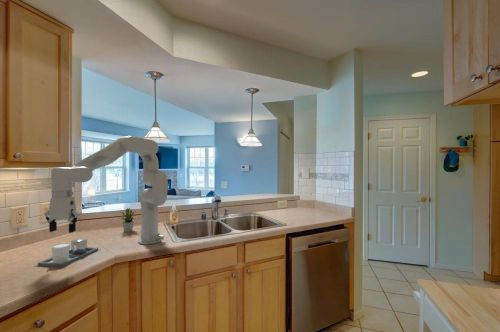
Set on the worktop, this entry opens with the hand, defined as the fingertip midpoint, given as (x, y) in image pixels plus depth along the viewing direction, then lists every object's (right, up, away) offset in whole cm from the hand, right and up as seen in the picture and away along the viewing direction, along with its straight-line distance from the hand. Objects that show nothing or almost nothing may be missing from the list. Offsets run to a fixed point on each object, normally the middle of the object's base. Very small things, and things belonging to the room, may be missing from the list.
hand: (62, 231), depth 116 cm
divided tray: (0, -15, +5) cm, 15 cm away
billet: (+1, -14, +10) cm, 17 cm away
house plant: (0, -15, +59) cm, 61 cm away
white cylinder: (-1, -14, 0) cm, 14 cm away
